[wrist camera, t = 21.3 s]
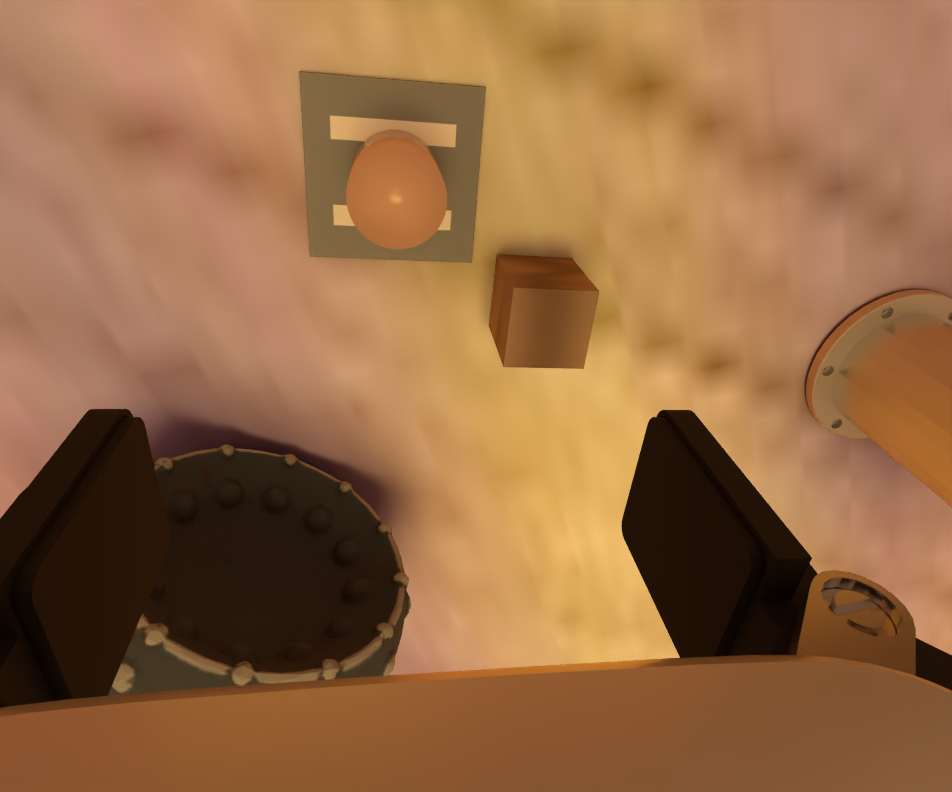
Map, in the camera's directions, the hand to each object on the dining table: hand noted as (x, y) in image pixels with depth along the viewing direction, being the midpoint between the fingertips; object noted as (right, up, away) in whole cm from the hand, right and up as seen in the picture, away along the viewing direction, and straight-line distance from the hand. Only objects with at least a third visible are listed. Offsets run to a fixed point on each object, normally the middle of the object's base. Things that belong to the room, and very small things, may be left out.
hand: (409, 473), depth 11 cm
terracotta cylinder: (-3, +14, +24) cm, 28 cm away
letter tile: (-4, +14, +24) cm, 28 cm away
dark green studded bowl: (-14, -6, +35) cm, 38 cm away
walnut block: (+5, +8, +29) cm, 31 cm away
